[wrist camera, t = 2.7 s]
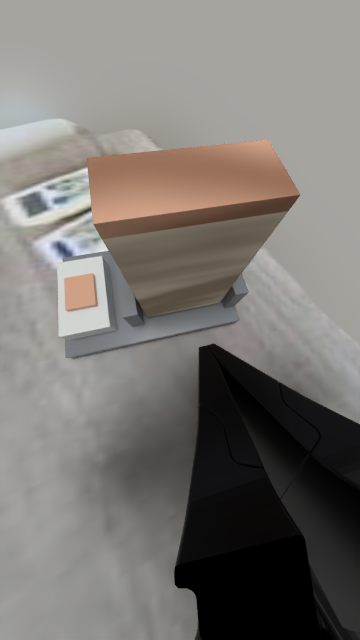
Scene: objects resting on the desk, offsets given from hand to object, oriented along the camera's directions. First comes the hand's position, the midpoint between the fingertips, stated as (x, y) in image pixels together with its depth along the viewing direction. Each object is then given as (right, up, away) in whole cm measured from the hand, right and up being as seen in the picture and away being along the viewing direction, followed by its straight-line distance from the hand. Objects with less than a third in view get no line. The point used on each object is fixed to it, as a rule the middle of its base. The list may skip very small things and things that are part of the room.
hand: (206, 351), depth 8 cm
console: (-5, +5, +8) cm, 10 cm away
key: (-1, +4, +7) cm, 8 cm away
